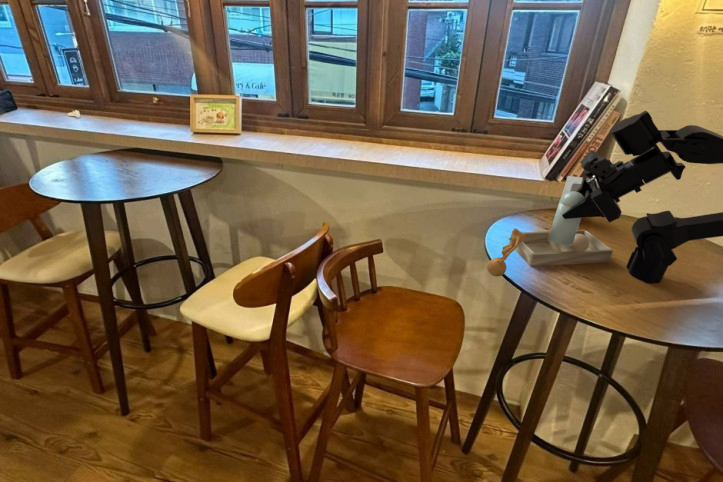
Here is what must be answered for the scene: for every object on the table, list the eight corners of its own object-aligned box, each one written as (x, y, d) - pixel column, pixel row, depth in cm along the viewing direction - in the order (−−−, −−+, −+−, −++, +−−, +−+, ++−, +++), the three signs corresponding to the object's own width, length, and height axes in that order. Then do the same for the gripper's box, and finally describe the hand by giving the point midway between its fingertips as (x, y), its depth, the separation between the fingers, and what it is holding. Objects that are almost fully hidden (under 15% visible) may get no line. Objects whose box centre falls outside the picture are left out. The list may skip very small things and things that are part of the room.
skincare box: (576, 225, 112) (589, 185, 106) (559, 223, 113) (572, 183, 107) (570, 216, 117) (583, 177, 111) (555, 214, 118) (567, 175, 112)
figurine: (488, 263, 93) (499, 216, 87) (515, 270, 91) (528, 222, 85) (483, 282, 86) (494, 233, 80) (512, 289, 84) (525, 239, 78)
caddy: (607, 264, 95) (613, 250, 93) (529, 269, 92) (533, 254, 90) (580, 242, 103) (585, 229, 101) (508, 246, 100) (511, 233, 98)
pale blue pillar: (575, 238, 93) (591, 191, 88) (570, 247, 90) (586, 199, 84) (551, 231, 96) (565, 185, 90) (546, 239, 92) (560, 192, 87)
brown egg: (590, 255, 96) (596, 239, 94) (572, 256, 95) (578, 239, 93) (578, 246, 100) (583, 229, 98) (561, 247, 99) (566, 230, 97)
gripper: (608, 130, 88) (541, 170, 96) (623, 153, 73) (542, 199, 81) (636, 170, 89) (567, 206, 98) (656, 201, 74) (573, 241, 83)
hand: (562, 211), depth 90 cm, fingers closed on pale blue pillar, 5 cm apart
